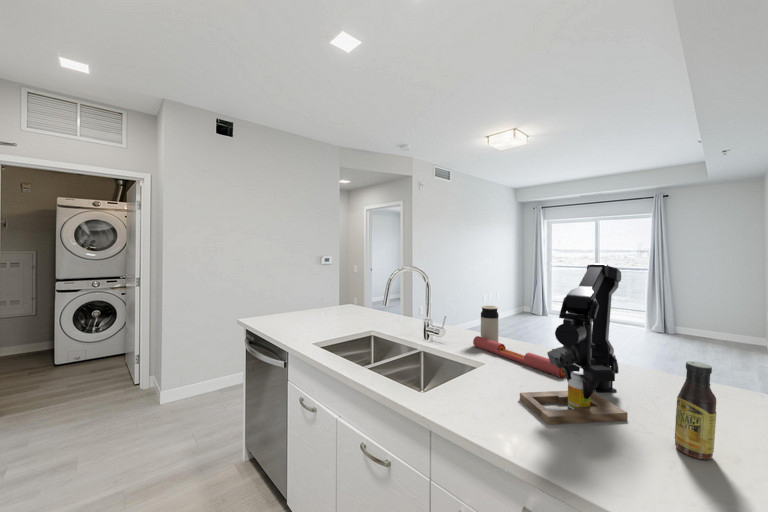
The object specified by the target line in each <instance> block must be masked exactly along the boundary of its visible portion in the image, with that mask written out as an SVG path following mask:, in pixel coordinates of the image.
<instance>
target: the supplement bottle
mask: <svg viewBox="0 0 768 512" xmlns="http://www.w3.org/2000/svg"><path fill="white" fill-rule="evenodd" d="M579 374H583V371H579V372H578V371H573V372H571V378H572V379H570V380H569V381H567V391H568V404H567V406H568V407H569V409H570V410H571V409H575V408H576V407H590V397H589V399H585V398H584V393H583V380H582V379H581V378H580V377H579V376H578V375H579Z"/></svg>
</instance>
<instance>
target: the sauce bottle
mask: <svg viewBox="0 0 768 512" xmlns="http://www.w3.org/2000/svg"><path fill="white" fill-rule="evenodd" d="M685 369H686V376H685V381H684V383H683V385H682V387H681V389H680V391H679V393H678V395H677V397H676V407H675V408H676V409H675V426H674V427H675V428H674V441H675V442H674V445H675V447H676V449H677V450H678V451H679V452H681V453H683V454H685V455H687V456H690V457H692V458H694V459H698V460H706V461H707V460H710V459H712V458H713V456H714V455H713V454H714V452H715V438H716V437H715V436H716V424H717V422H716V421H717V410H716V409H717V398H716V396H715V393H714V392H713V391H712V389H711V382H710V381H711V375H712V373H713V367H712V366H711V365H709V364H708V363H704V362H701V361H693V360H689V361H686V363H685Z"/></svg>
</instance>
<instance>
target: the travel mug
mask: <svg viewBox="0 0 768 512" xmlns="http://www.w3.org/2000/svg"><path fill="white" fill-rule="evenodd" d="M498 308H499V307H498V306H496V305H481V312H480V337H482V338H486V339H489V340H492V341H495V342H498V343H499V313H498Z"/></svg>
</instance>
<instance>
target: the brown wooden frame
mask: <svg viewBox="0 0 768 512" xmlns="http://www.w3.org/2000/svg"><path fill="white" fill-rule="evenodd" d="M519 400H520V401H521V402H522V403H523V404H525V406H527V407H528V408H529V409H530V410H532V411H533V413H534V414H536V415H537V416H538V417H539V418H541V420H542V421H544V422H545V423H546V424H547V425H562V424H563V425H565V424H567V425H568V424H581V423H582V424H583V423H586V424H587V423H599V422H600V423H602V422H615V421H616V422H617V421H618V422H620V421H622V422H623V421H628V415H629V414H628V412H627V411H626V410H624V409H622V408H620V407H619V406H617V405H615V404H614V403H612V402H610V401H608V400H606V399H605V398H603V397H602V396H600V395H598V394H597V393H595V392H593V393H592V394H591V396H590V407H576V408H575V409H571V408H570V409H556V410H555V409H553V410H549V409H548V408H546V407H545V406H544V405H542V404H555V403H558V404H559V405H568V390H553V391H552V390H551V391H549V390H548V391H531V392H530V391H529V392H525V391H524V392H519Z"/></svg>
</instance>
